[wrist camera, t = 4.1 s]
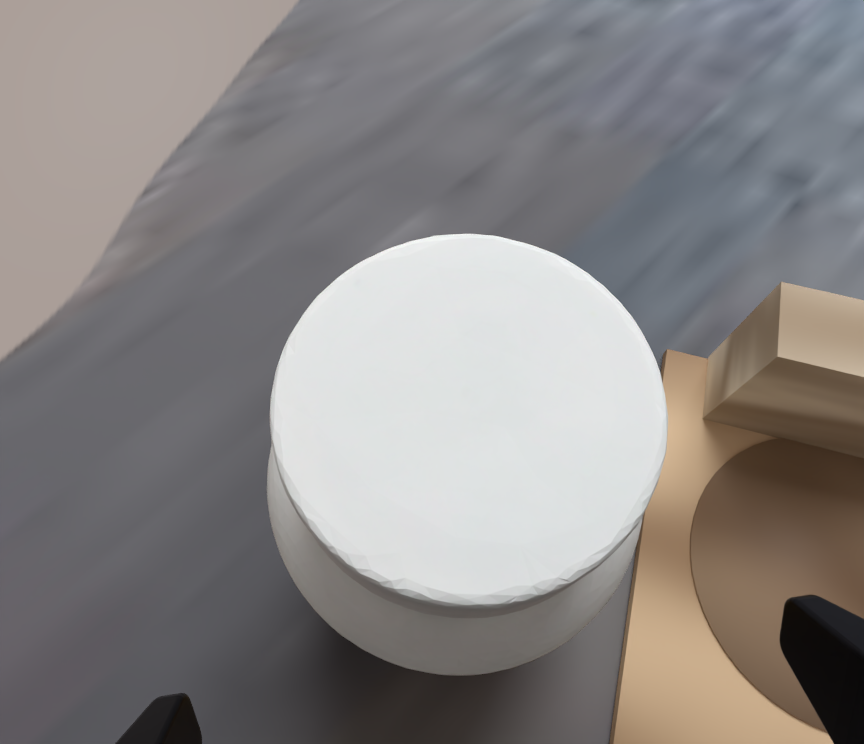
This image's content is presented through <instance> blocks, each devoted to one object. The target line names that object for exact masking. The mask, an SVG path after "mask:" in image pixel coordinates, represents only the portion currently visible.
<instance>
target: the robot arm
mask: <svg viewBox="0 0 864 744" xmlns="http://www.w3.org/2000/svg"><path fill="white" fill-rule="evenodd" d="M779 640H780V647H781V650H782V653H783V655H784V657H785V659H786V660H787V662H788V664H789V666H790V667H791V669H792V671H793V673H794V675H795V676H796V678H797V680H798V682H799V683H800V685H801V687H802V689H803V690H804V692H805V694H806V696H807V697H808V699H809V701H810V703H811V705H812V706H813V708H814V710H815V712H816V713H817V715H818V717H819V719H820V720H821V722H822V724H823V726H824V727H825V729H826V731H827V733H828V735H829V736H830V738H831V740H832V741H833V743H834V744H864V619H863V618H861V617H859V616H857V615H855V614H853V613H851V612H849V611H847V610H845V609H843V608H842V607H840V606H838V605H836V604H834V603H832V602H830V601H828V600H826V599H824V598H822V597H819V596H817V595H811V594H810V595H803V596H797V597H791V598H788V599H787V600H786V602H785V604H784V609H783V616H782V622H781V629H780V636H779ZM115 744H202V735H201V731H200V727H199V725H198V722H197V719H196V716H195V713H194V710H193V707H192V704H191V701H190V699H189V697H188V696H187V695H186V694H185V693H179V694H173V695H166V696H161V697H158V698H156V699H155V700H154V701H153V702H152V703H151V704H150V705H149V706H148V707H147V708H146V709H145V710H144V712H143V713H142V714H141V715H140V716H139V717H138V718H137V720H136V721H135V722H134V723H133V724H132V725H131V726H130V728H129V729H128V730H127V731H126V732H125V733H124V734H123V735H122V737H121V738H120V739H119V740H118V741H117V742H116V743H115Z"/></svg>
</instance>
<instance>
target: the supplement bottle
mask: <svg viewBox="0 0 864 744" xmlns="http://www.w3.org/2000/svg"><path fill="white" fill-rule="evenodd" d="M269 420H270V430H271V440H272V446H271V451H270V457H269V462H268V476H267V497H268V508H269V515H270V520H271V525H272V530H273V534H274V537H275V540H276V543H277V546H278V549H279V552H280V554H281V557H282V559H283V562H284V564H285V566H286V568H287V570H288V571H289V573H290V575H291V577H292V579H293V581H294V583H295V585H296V586H297V588H298V589H299V590H300V592H301V593H302V594H303V596H304V597H305V598H306V600H307V601H308V602H309V604H310V605H311V606H312V608H313V609H314V610H315V611H316V612H317V613H318V614H319V615H320V616H321V617H322V618H323V619H324V620H325V621H326V622H327V623H328V624H329V625H330V626H331V627H332V628H333V629H335V630H336V631H337V632H338V633H339V634H340V635H341V636H343V637H344V638H346V639H347V640H349V641H351V642H352V643H354V644H355V645H357V646H358V647H360V648H361V649H363V650H365V651H367V652H369V653H371V654H373V655H375V656H377V657H379V658H381V659H383V660H385V661H388V662H390V663H393V664H396V665H399V666H401V667H404V668H408V669H412V670H417V671H422V672H426V673H433V674H439V675H477V674H487V673H492V672H497V671H501V670H505V669H510V668H514V667H516V666H519V665H522V664H525V663H527V662H530V661H533V660H535V659H537V658H539V657H541V656H543V655H545V654H547V653H549V652H551V651H553V650H554V649H556V648H558V647H559V646H561V645H562V644H564V643H566V642H567V641H569V640H570V639H571V638H572V637H574V636H575V635H576V634H577V633H578V632H580V631H581V630H582V629H583V628H584V627H585V626H586V625H587V624H588V623H589V622H590V621H591V620H592V619H593V618H594V617H595V616H596V615H597V614H598V613H599V612H600V611H601V609H602V608H603V607H604V606H605V605H606V604H607V602H608V601H609V600H610V598H611V597H612V595H613V594H614V592H615V591H616V589H617V587H618V586H619V584H620V582H621V581H622V579H623V577H624V575H625V572H626V570H627V568H628V566H629V564H630V562H631V560H632V557H633V554H634V551H635V548H636V544H637V541H638V538H639V533H640V529H641V525H642V518H643V515H644V512H645V510H646V508H647V506H648V504H649V502H650V499H651V497H652V495H653V493H654V491H655V488H656V486H657V483H658V480H659V476H660V473H661V470H662V466H663V462H664V458H665V454H666V450H667V432H668V412H667V405H666V398H665V392H664V388H663V383H662V378H661V374H660V371H659V368H658V365H657V362H656V360H655V357H654V355H653V353H652V351H651V349H650V347H649V345H648V343H647V341H646V339H645V337H644V335H643V334H642V332H641V330H640V329H639V327H638V325H637V324H636V322H635V321H634V319H633V318H632V316H631V315H630V314H629V313H628V312H627V310H626V309H625V308H624V307H623V305H622V304H621V303H620V302H619V301H618V300H617V299H616V298H615V297H614V296H613V295H612V294H611V293H610V292H609V291H608V290H607V289H606V288H605V287H604V286H603V285H602V284H601V283H599V282H598V281H596V280H595V279H594V278H593V277H592V276H591V275H589V274H588V273H586V272H585V271H583V270H582V269H580V268H579V267H577V266H576V265H574V264H572V263H571V262H569V261H568V260H566V259H564V258H562V257H560V256H558V255H556V254H554V253H551V252H549V251H546V250H544V249H541V248H538V247H536V246H532V245H529V244H526V243H522V242H518V241H514V240H510V239H506V238H502V237H498V236H492V235H479V234H455V235H439V236H432V237H428V238H424V239H419V240H414V241H410V242H407V243H405V244H401V245H398V246H395V247H392V248H390V249H387V250H385V251H382V252H380V253H378V254H376V255H374V256H372V257H370V258H368V259H366V260H364V261H362V262H360V263H358V264H357V265H355V266H354V267H352V268H350V269H349V270H347V271H346V272H345V273H343V274H342V275H341V276H340V277H338V278H337V279H336V280H335V281H334V282H332V283H331V284H330V285H329V286H328V287H327V288H326V289H325V290H324V291H323V292H321V293H320V294H319V295H318V296H317V297H316V298H315V300H314V301H313V302H312V304H311V305H310V306H309V307H308V309H307V310H306V311H305V313H304V314H303V315H302V317H301V319H300V320H299V322H298V323H297V325H296V327H295V328H294V330H293V331H292V333H291V334H290V336H289V338H288V340H287V342H286V345H285V347H284V349H283V352H282V354H281V357H280V360H279V363H278V366H277V369H276V373H275V378H274V383H273V388H272V394H271V402H270V419H269Z"/></svg>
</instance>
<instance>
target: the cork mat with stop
mask: <svg viewBox="0 0 864 744" xmlns="http://www.w3.org/2000/svg"><path fill="white" fill-rule="evenodd" d="M661 378H662V383H663V388H664V392H665V398H666V405H667V412H668V432H667V450H666V454H665V458H664V462H663V466H662V470H661V473H660V476H659V480H658V483H657V486H656V488H655V491H654V493H653V495H652V497H651V499H650V502H649V504H648V506H647V508H646V510H645V512H644V515H643V518H642V525H641V529H640V533H639V538H638V541H637V548H636V555H635V562H634V569H633V576H632V584H631V591H630V598H629V605H628V612H627V620H626V627H625V634H624V641H623V649H622V656H621V663H620V670H619V677H618V685H617V692H616V699H615V706H614V713H613V721H612V728H611V735H610V742H609V744H834V743H833V741H832V740H831V738H830V736H829V735H828V733H827V731H826V729H825V727H824V726H823V724H822V722H821V720H820V719H819V717H818V715H817V713H816V712H815V710H814V708H813V706H812V705H811V703H810V701H809V699H808V697H807V696H806V694H805V692H804V690H803V689H802V687H801V685H800V683H799V682H798V680H797V678H796V676H795V675H794V673H793V671H792V669H791V667H790V666H789V664H788V662H787V660H786V659H785V657H784V655H783V653H782V650H781V647H780V640H779V636H780V629H781V622H782V616H783V609H784V604H785V602H786V600H787V599H788V598H791V597H797V596H803V595H810V594H811V595H817V596H819V597H822V598H824V599H826V600H828V601H830V602H832V603H834V604H836V605H838V606H840V607H842V608H843V609H845V610H847V611H849V612H851V613H853V614H855V615H857V616H859V617H861V618H863V619H864V300H860V299H855V298H851V297H846V296H842V295H837V294H833V293H829V292H824V291H820V290H815V289H811V288H806V287H802V286H798V285H793V284H789V283H784V282H781V283H780V284H779V285H778V286H777V287H776V288H775V289H774V290H773V291H772V292H771V293H770V294H769V295H768V296H767V297H766V298H765V299H764V300H763V301H762V302H761V303H760V304H759V305H758V306H757V307H756V308H755V309H754V311H753V312H752V313H751V314H750V315H749V316H748V317H747V318H746V319H745V320H744V321H743V322H742V323H741V324H740V325H739V326H738V327H737V328H736V329H735V330H734V331H733V332H732V333H731V334H730V335H729V336H728V337H727V338H726V339H725V340H724V341H723V343H722V344H721V345H720V346H719V347H718V348H717V349H716V350H715V351H714V352H713V353H712V354H711V355H710V356H709V359H706V358H702V357H698V356H694V355H689V354H685V353H681V352H677V351H673V350H669V349H667V350H666V351H665V352H664V354H663V360H662V367H661Z"/></svg>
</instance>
